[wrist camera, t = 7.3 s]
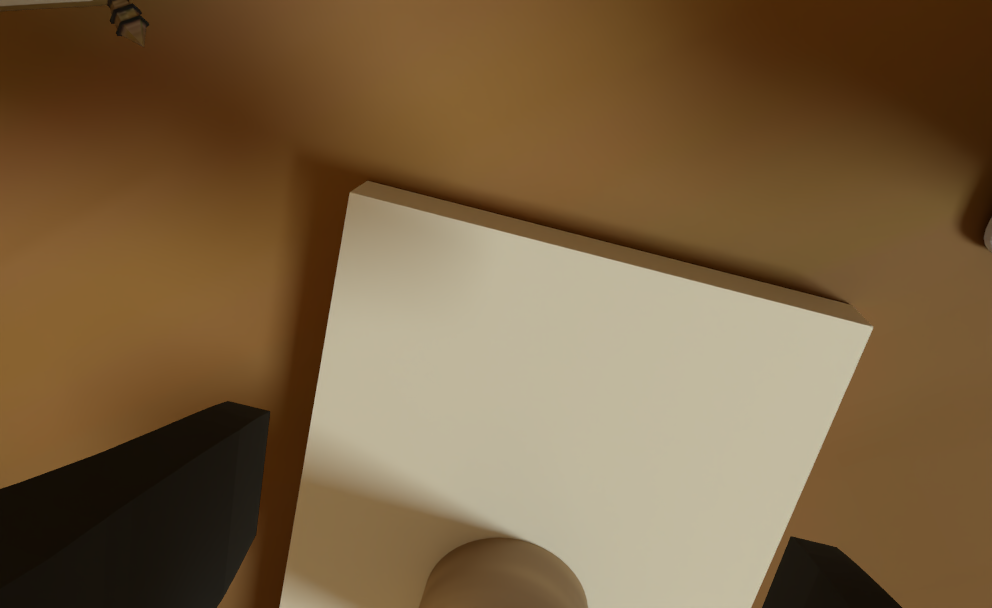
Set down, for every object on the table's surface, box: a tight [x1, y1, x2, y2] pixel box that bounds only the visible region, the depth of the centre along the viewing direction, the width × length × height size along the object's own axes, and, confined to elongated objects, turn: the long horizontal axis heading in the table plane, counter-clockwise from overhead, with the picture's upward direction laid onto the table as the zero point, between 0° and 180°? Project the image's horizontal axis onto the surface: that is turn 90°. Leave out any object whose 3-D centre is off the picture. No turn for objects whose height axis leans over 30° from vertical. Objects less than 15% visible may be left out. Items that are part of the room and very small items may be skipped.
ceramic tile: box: [279, 181, 873, 608], centre depth 21 cm, size 12×20×2 cm, turn 167°
